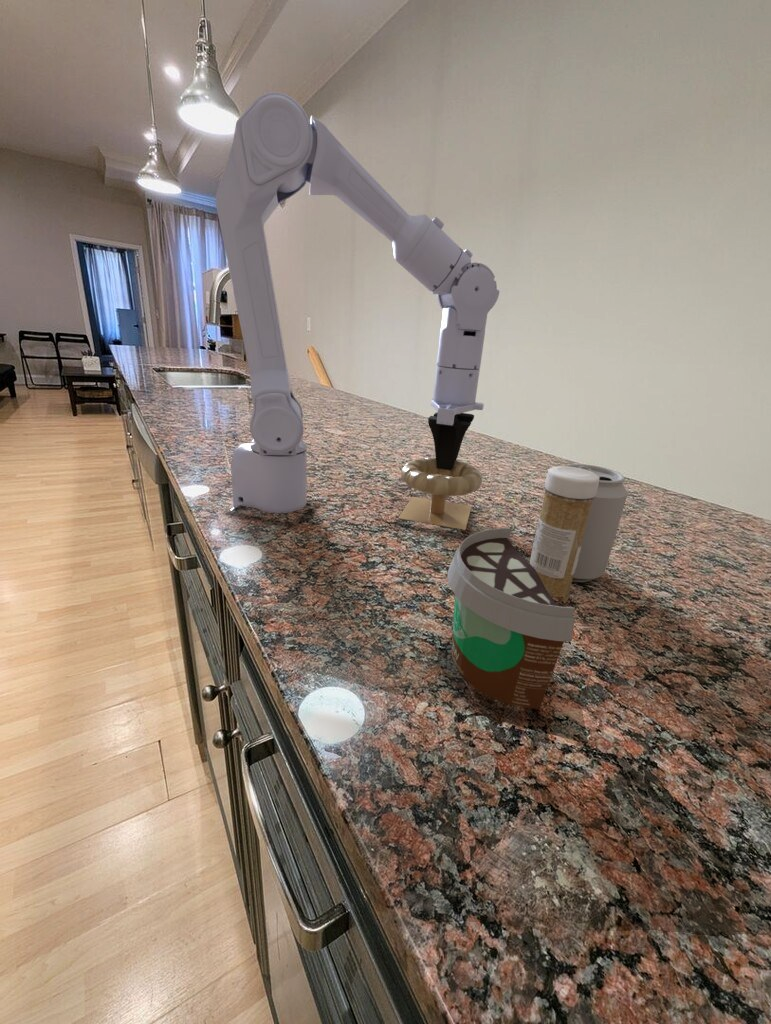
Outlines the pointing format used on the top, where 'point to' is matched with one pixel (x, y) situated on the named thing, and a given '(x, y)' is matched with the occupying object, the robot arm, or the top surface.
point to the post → (437, 512)
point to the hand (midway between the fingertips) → (445, 466)
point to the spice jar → (562, 526)
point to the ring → (424, 479)
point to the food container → (504, 621)
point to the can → (600, 523)
